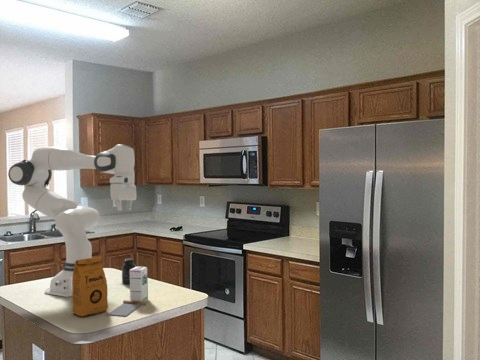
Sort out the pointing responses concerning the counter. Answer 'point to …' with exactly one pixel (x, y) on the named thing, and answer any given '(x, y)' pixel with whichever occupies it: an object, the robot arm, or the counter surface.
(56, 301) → the counter surface
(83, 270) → the coffee package
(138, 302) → the brown block
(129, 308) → the mat
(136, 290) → the syrup box
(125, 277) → the supplement bottle
